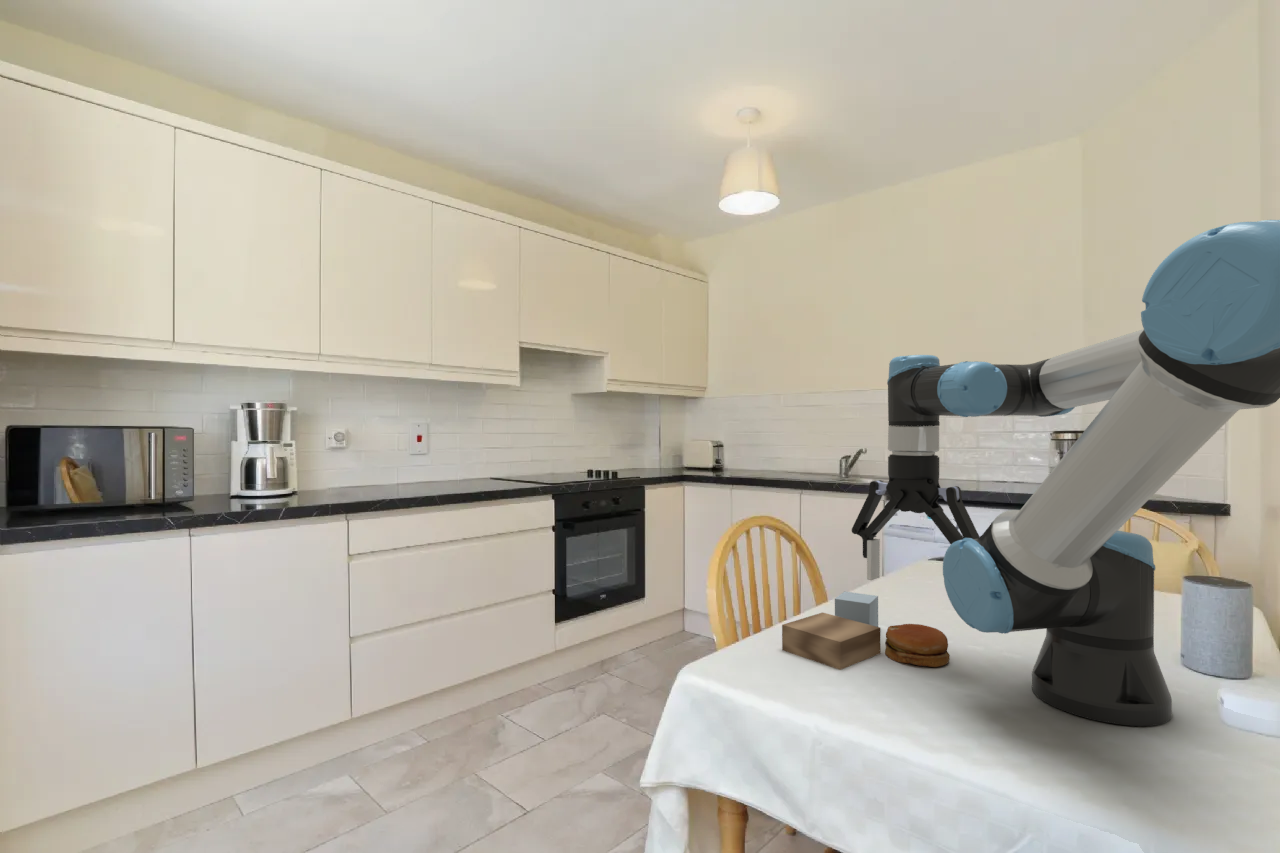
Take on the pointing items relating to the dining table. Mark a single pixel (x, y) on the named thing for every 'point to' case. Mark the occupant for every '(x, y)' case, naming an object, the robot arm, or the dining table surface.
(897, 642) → the burger
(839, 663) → the walnut block
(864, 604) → the slate cube
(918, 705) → the dining table surface
